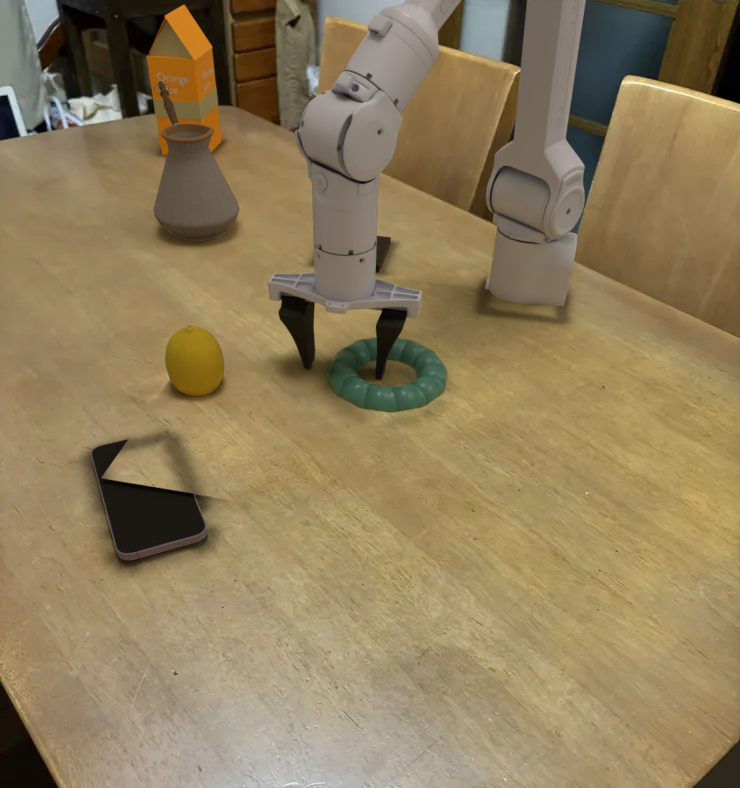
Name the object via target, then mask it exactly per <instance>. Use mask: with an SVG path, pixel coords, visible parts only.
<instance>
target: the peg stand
mask: <svg viewBox="0 0 740 788" xmlns="http://www.w3.org/2000/svg"><path fill="white" fill-rule="evenodd" d="M391 240H392V237H391V236H382V235H377V244H376V273H379V272H380V270H381V267H382V265H383V263H384V261H385V258H386V255H387V253H388V251H389V248H390V247H391V243H392V241H391Z"/></svg>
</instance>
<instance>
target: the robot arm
mask: <svg viewBox="0 0 740 788" xmlns="http://www.w3.org/2000/svg"><path fill="white" fill-rule="evenodd" d="M461 1H462V0H404V2H403V3H400V4H396V5H390V6H386V7H384V8H382V9H381V10H380V12H379V13H378V14H377V13H376V14H374V15H373V17H372V19H371V20H370V21H369V23H368V25H367V32H366V34H365V36H364V37H363V38H362V40H361V42H360V44H359V45H358V47H357V49H356V50H355V51H354V52H353V54H352V55H351V58H350V59H349V61H348V62H347V64H346V65H345V67H344V68H343V70H342V71H341V73H340V74H339V76H338V77H337V79H336V80H335V83H334V84H333V86H332V87H331V89H328V90H324V91H322V92H323V93H322V94H321V93H319V94H317V95H316V96H315V97H313V98H312V99H311V100H310V101H309V102H308V103H307V105H306V106H305V108H304V110H303V112H302V114H301V117H300V121H299V128H298V129H296V130H295V131H294V138H295V143H296V147H297V149H298V151H299V153H300V154H301V156H302V157H303V158H304V160H305V162H306V164H307V165H306V166H307V178H308V179H310V182H311V199H312V200H311V201H312V236H313V237H312V238H313V240H312V241H313V267H314V268H313V272H300V273H282V272H273V274H271V277H270V278H269V280H268V281H267V285H268V287H267V288H268V299H269V301H274V302H279V301H280V302H281V303H280V307H279V309H278V317H279V321H280V322H281V323H282V324H283V325H284V327H285V328H286V330H287V331H288V333H289V334H290V336H291V338H292V340H293V342H294V343H295V346H296V348H297V351H298V355H299V356H300V359H301V363H302V367H303V369H304V370H311V368H312V366H313V364H314V361H315V359H316V341H315V340H316V339H315V309H316V307H315V306H316V304H318V305H321V306H323V307H324V311H325V312H327V313H330V314H331V313H332V314H339V315H345V314H347V313H348V312H349V310H350V311H351V310H365V309H366V310H371V311H373V310H374V311H380V314H379V316H378V319H377V321H376V324H375V335H376V336H375V337H377V358H376V361H375V366H374V367H375V368H374V379H375V380H376V379H377V380H382V379H383V378H384V375H385V371H386V367H387V363H388V359H387V358H388V354H389V352H390V350H391V348H392V346H393V344H394V343H395V341H396V340H397V338H400V335H401V333H402V331H403V329H404V326H405V323H406V321H407V318H408V319H415V320H418V319H419V316H420V314H421V310H422V301H423V300H422V299H423V291H422V290H418V289H412V288H409V287H405V286H401V285H398V284H395V283H392V282H388V281H386V280H382V279H380V278H376V273H377V272H376V244H377V236H378V215H379V214H378V212H379V211H378V210H379V185H380V183H379V181H380V174H381V173H382V172H384V170H385V169H386V167H387V166H388V165H389V164H390V163H391V162H392V159H393V157H394V154H395V151H396V147H397V143H398V142H397V141H398V133H399V131H400V128H401V127H402V125H403V123H402V122H403V120H404V117H403V115H402V114H403V113H404V112H405V110H406V108H407V107H408V105H410V102H411V100H413V98H414V96H415V95H416V93H417V91H418V90H419V88H420V87H421V85H422V84H423V82H424V80H425V79H426V78H427V76H428V75H429V73H430V71H431V70H432V68H433V67H434V65H435V63H437V60H438V59H439V55H440V51H439V50H440V46H439V31H440V30H441V29H442V27H443V25H444V24H445V23H446V22H447V21H448V19H449V18H450V16H451V15H452V14H453V12H454V11H455V10H456V8H457V7H458V6H459V4H461ZM586 2H587V0H526V7H525V8H526V9H525V17H524V19H525V20H524V27H523V29H524V30H523V37H522V39H523V41H522V49H521V50H522V51H521V58H520V59H521V60H520V61H521V62H520V71H519V81H518V91H517V102H516V112H515V120H514V121H515V123H514V133H513V140H511V141H509V142H508V143H506V144H504V145H503V146H502V147H501V148H499V149H498V150H497V151H496V152H495V153H494V158H493V159H494V160H493V168H492V171H491V175H490V177H489V178H488V182H487V184H486V189H485V203H486V207H487V209H488V210H489V212H490V213H492V214H493V216H492V224H494V225H495V226H496V232H495V238H494V246H493V254H492V259H491V265H490V266H491V267H490V273H489V276H488V277H487V278H486V280H485V281H486V282H485V287H484V289H485V290H489V292H490V293H491V294H492V295H493V296H494V297H496V298H497V299H499V300H502V301H504V302H508V303H512V304H519V305H523V304H524V305H529V304H530V305H531V304H533V305H536V304H537V305H545V306H546V305H547V306H553V307H554V306H556V307H565V303H566V299H567V297H568V296H569V292H570V287H571V277H572V272H573V268H574V264H575V258H576V252H577V245H578V233H575V232H571V231H572V230H573V229H574V227H575V226H576V225H577V224H578V222H579V220H580V218H581V216H582V214H583V211H584V207H585V202H586V201H585V200H586V195H585V187H584V173H585V169H586V166H585V164H584V163H583V161H582V159H581V158H580V157H579V155H578V154H577V153H576V152H575V150H574V149H573V148H572V146H571V144H570V143H569V142H568V140H567V132H568V125H569V117H570V113H571V112H570V111H571V104H572V97H573V90H574V83H575V76H576V69H577V62H578V56H579V49H580V43H581V35H582V28H583V20H584V15H585V8H586Z"/></svg>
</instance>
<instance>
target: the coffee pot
mask: <svg viewBox="0 0 740 788" xmlns="http://www.w3.org/2000/svg"><path fill="white" fill-rule="evenodd" d="M164 84H166V83H163V82H162V81H159V82H158V83H157V84H156V85H155V86H154V88H153V90H154V89H155V87H156V86H157V85H159V89H160V90H161V91H160V93H157V92H155V90H154V92H155V93H156V94H158V95H160V96H161V97H162V98H163V102H164V107H165V110H166V112H167V114H168V116H169V119H170V121H171V123H172V125H171V126H168V127H166V128H164V129H163V130H162V131H161V136H162V137H163V138H164V139H165V140H166V143H167V146H168V148H169V149H168V153H167V155H166V158H165V161H164V165H163V170H162V174H161V177H160V182H159V186H158V190H157V193H156V197H155V201H154V205H153V215H154V217H155V219H156V221H157V222H158V223H159V225H160V226H161V227H162V228H163V229H165V230H166V231H167V232H169V233H171V235H172V236H174V237H175V238H177V239H180V240H183V241H188V242H203V241H205V242H206V241H210V240H214V239H218V238H220V237H222V236H223V235H226V233H227V232H228V229H230V228H231V227H232V226H233V224H234V223H236V221H237V220H238V219H237V218H238V216H239V212H240V205H239V202H238V200H237V198H236V196H235V194H234V193H233V190H232V188H231V186H230V185H229V183H228V181H227V179H226V177H225V175H224V173H223V171H222V169H221V168H220V166H219V164H218V162H217V160H216V158H215V156H214V154H213V151H212V152H211V151H210V149H209V144H210V140H211V137H212V134H213V133H214V129H213V128H211V127H208V126H205V125H201V124H193V123H185V124H179V123H178V119H177V116H176V112H175V109H174V105H173V103H172V101H171V100H170V98H169V90H170V87H169V90H166V89H165V88H166V87H165V85H164ZM166 85H168V84H166ZM168 86H169V85H168Z"/></svg>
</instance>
